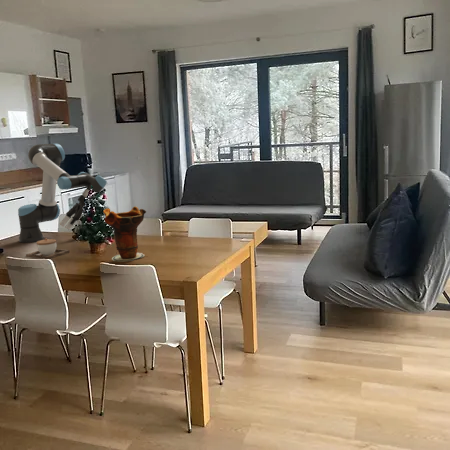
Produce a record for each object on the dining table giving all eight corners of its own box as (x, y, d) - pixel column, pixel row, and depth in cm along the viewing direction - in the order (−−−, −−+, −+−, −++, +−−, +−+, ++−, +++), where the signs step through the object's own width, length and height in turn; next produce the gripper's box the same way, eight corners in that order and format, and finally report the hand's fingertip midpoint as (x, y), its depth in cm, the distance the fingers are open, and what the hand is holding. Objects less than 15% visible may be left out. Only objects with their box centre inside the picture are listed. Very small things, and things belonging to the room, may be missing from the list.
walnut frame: (48, 249, 297) (48, 247, 296) (69, 252, 287) (69, 250, 287) (26, 256, 283) (25, 254, 283) (47, 259, 274) (47, 257, 274)
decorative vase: (158, 254, 269) (151, 204, 263) (121, 266, 254) (113, 213, 248) (137, 249, 284) (131, 201, 278) (101, 259, 270) (93, 209, 264)
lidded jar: (41, 252, 290) (39, 237, 288) (59, 251, 291) (57, 235, 289) (35, 257, 280) (33, 241, 278) (55, 255, 280) (53, 239, 279)
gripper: (97, 204, 284) (74, 233, 279) (85, 200, 305) (63, 227, 300) (87, 196, 280) (64, 226, 275) (76, 192, 301) (53, 220, 296)
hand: (63, 227), depth 288 cm, fingers open, 13 cm apart
